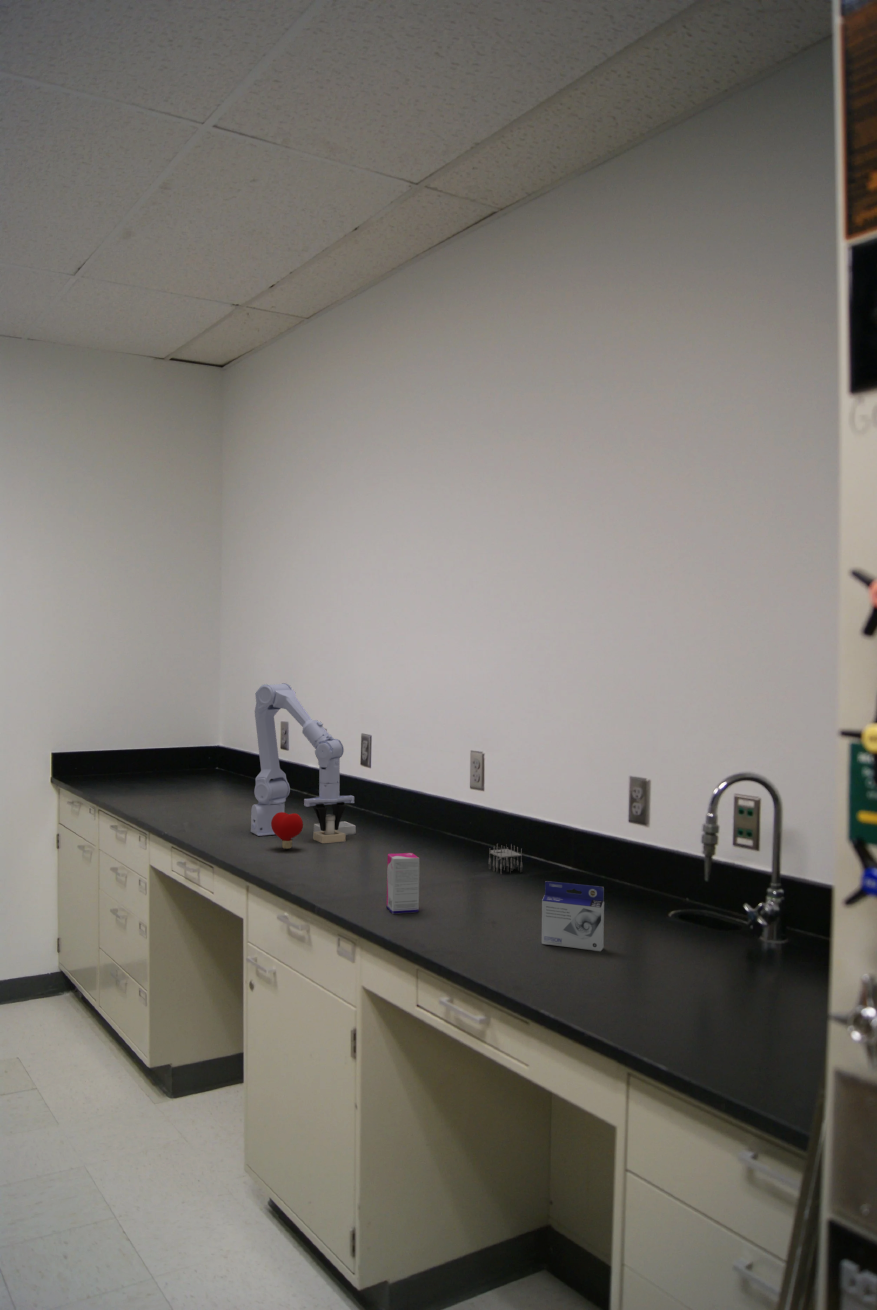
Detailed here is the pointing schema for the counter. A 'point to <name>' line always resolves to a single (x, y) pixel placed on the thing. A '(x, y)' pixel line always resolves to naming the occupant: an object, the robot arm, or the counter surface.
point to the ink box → (573, 916)
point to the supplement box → (403, 883)
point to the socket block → (329, 837)
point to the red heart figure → (286, 827)
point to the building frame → (502, 854)
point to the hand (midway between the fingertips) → (329, 829)
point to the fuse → (330, 825)
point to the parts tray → (340, 828)
